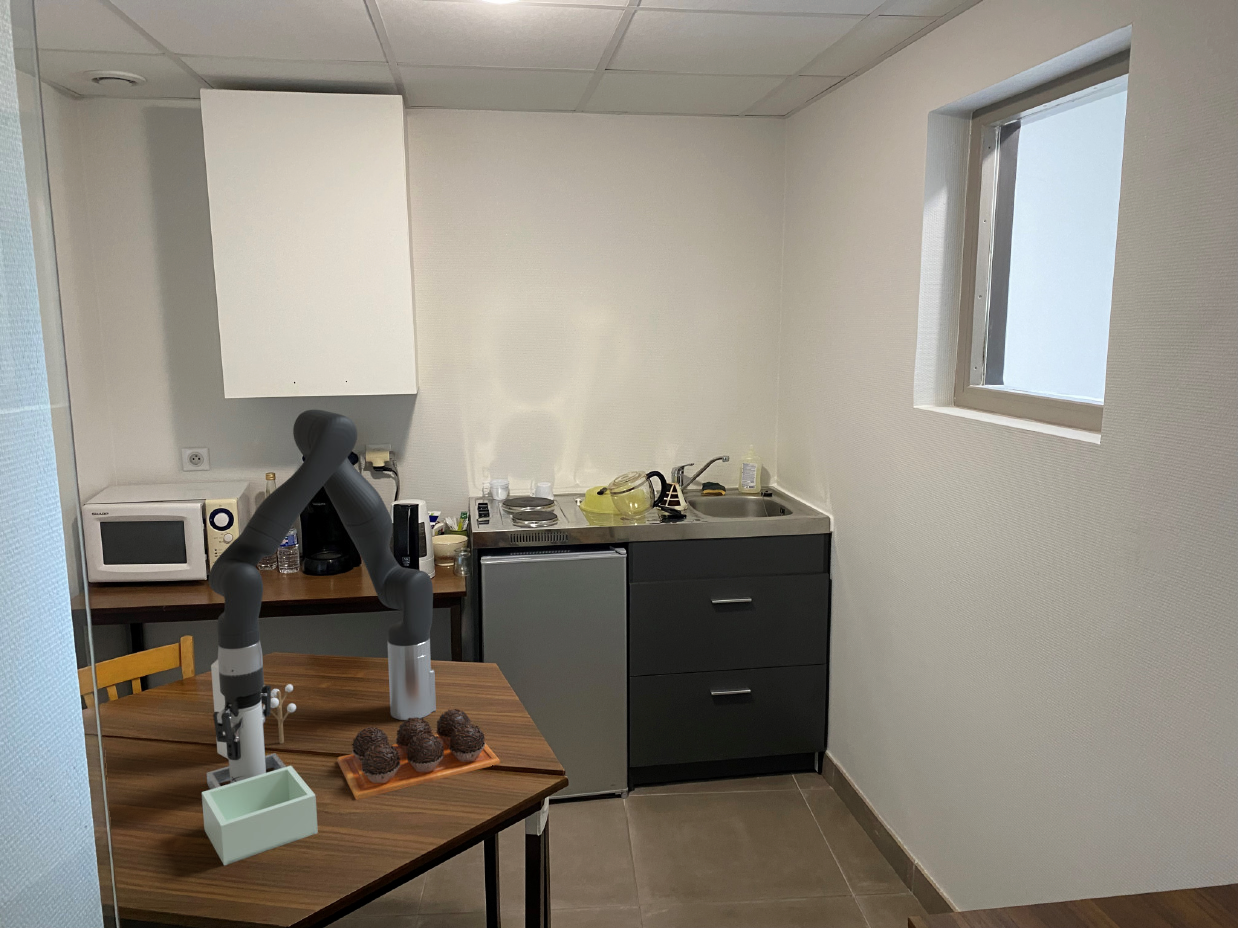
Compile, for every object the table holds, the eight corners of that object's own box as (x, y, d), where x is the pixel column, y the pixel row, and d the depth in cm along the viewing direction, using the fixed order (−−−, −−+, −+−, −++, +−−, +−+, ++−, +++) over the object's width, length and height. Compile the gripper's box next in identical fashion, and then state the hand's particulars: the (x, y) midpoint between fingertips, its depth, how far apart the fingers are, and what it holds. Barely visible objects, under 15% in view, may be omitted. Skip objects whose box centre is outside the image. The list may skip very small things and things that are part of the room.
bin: (293, 802, 158) (291, 765, 157) (317, 834, 148) (315, 795, 147) (204, 831, 149) (201, 792, 148) (224, 867, 139) (221, 825, 138)
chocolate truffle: (471, 733, 187) (470, 696, 185) (499, 766, 172) (499, 726, 171) (337, 764, 173) (335, 724, 172) (356, 803, 159) (354, 760, 158)
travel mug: (232, 798, 160) (225, 695, 157) (229, 782, 165) (222, 682, 162) (268, 789, 163) (262, 688, 160) (264, 774, 168) (258, 676, 165)
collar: (275, 764, 172) (275, 752, 172) (294, 788, 163) (294, 776, 163) (207, 784, 164) (206, 772, 164) (223, 811, 155) (222, 798, 155)
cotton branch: (298, 747, 179) (294, 692, 177) (264, 752, 177) (260, 696, 175) (299, 732, 186) (296, 679, 184) (266, 736, 184) (263, 682, 182)
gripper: (233, 682, 153) (239, 771, 155) (281, 653, 167) (286, 735, 169) (196, 678, 154) (203, 766, 157) (247, 650, 168) (252, 731, 171)
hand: (246, 750), depth 163 cm, fingers closed on travel mug, 6 cm apart
